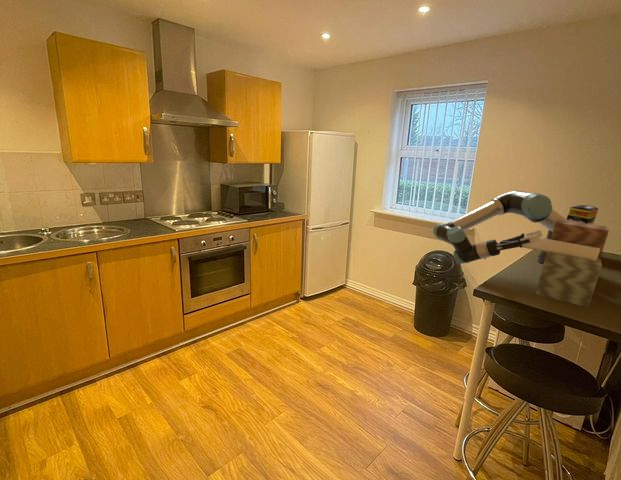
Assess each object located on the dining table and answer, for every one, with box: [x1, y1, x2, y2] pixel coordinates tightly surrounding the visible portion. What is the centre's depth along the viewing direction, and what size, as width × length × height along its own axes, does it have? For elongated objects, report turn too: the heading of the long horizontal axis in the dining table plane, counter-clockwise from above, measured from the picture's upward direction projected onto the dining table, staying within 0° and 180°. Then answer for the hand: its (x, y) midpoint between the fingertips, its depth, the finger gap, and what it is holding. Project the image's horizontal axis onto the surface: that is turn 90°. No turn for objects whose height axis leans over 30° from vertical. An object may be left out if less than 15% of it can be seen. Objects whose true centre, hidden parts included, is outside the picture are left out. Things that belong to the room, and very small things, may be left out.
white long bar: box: [522, 235, 600, 262], centre depth 141 cm, size 26×4×5 cm, turn 52°
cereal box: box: [566, 204, 599, 225], centre depth 212 cm, size 27×11×32 cm, turn 132°
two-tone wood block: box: [535, 219, 610, 308], centre depth 145 cm, size 18×26×30 cm
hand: (540, 235), depth 145 cm, fingers open, 13 cm apart
